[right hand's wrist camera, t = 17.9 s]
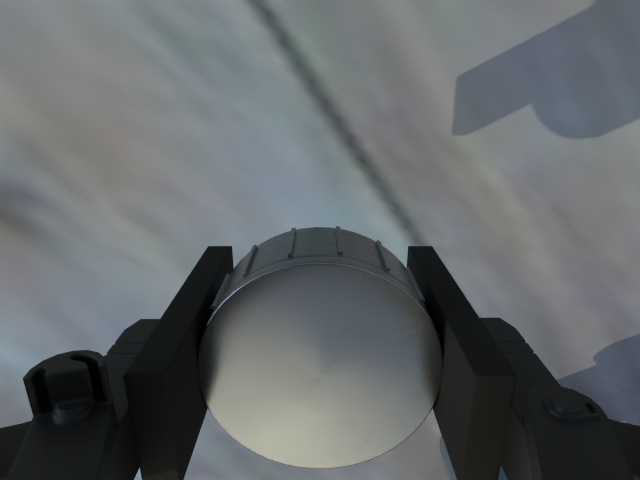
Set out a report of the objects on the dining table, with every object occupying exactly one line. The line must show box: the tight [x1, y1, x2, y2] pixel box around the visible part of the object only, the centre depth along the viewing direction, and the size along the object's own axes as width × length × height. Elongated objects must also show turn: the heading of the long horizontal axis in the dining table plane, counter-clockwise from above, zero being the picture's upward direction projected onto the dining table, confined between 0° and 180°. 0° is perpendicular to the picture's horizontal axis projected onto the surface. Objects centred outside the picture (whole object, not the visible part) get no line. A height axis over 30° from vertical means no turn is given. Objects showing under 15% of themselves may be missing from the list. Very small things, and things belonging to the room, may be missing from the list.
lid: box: [197, 226, 443, 469], centre depth 11 cm, size 6×6×2 cm
